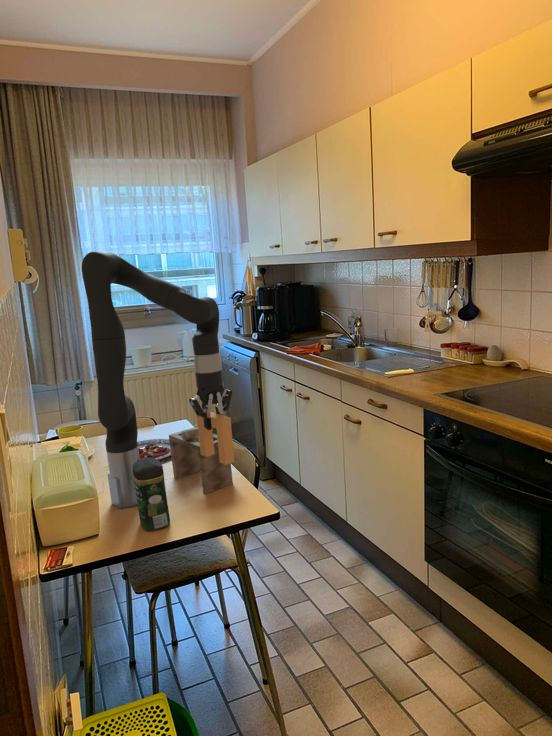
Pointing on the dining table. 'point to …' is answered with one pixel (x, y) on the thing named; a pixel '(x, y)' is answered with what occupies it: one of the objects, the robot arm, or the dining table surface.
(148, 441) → the ceramic plate
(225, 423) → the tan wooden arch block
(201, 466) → the shelf stand
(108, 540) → the dining table surface
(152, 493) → the coffee jar
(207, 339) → the robot arm
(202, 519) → the dining table surface
